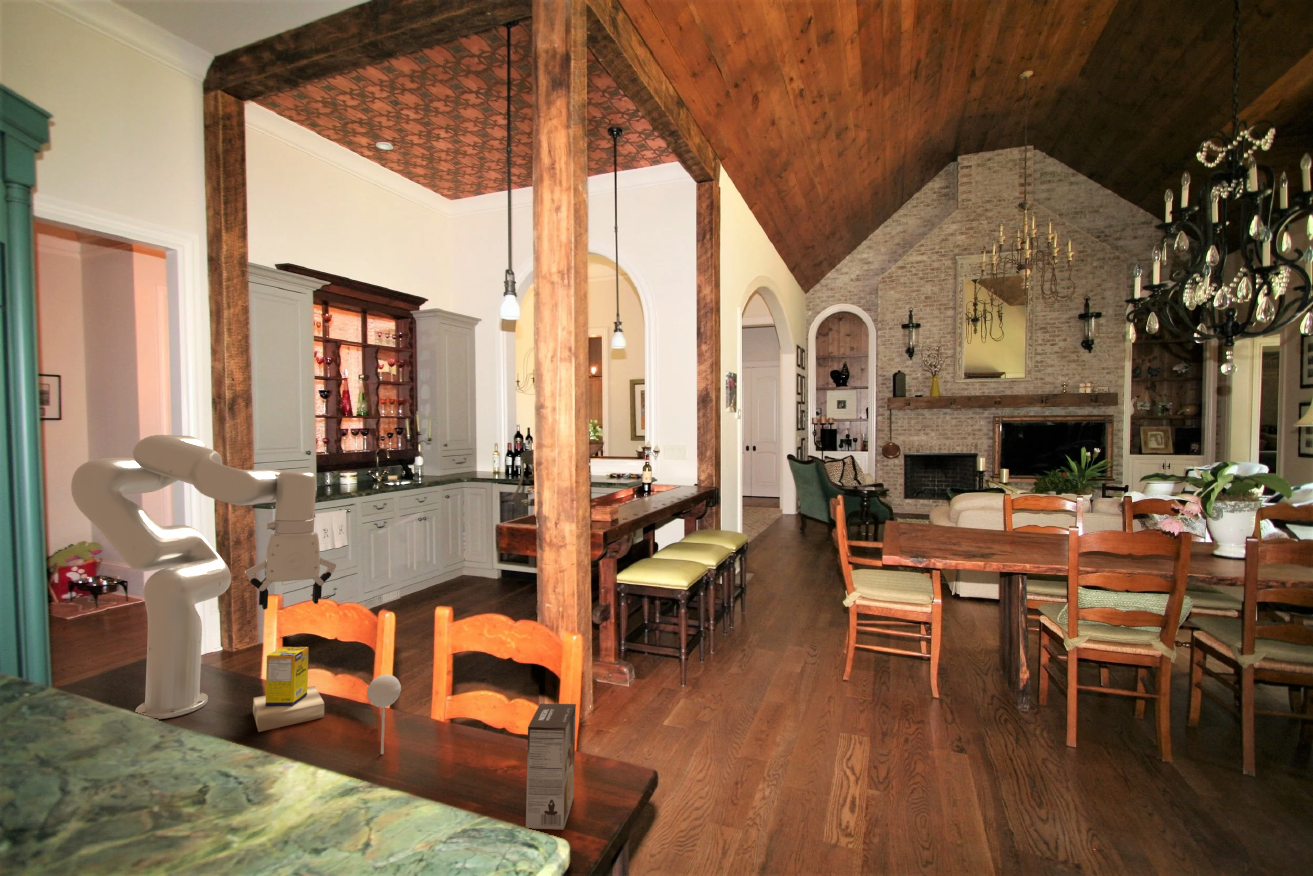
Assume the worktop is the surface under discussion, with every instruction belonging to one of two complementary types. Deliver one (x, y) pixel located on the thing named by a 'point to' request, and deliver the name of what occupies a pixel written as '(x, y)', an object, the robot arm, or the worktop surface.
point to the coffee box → (550, 766)
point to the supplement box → (286, 676)
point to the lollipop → (383, 696)
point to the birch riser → (288, 711)
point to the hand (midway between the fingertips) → (290, 605)
